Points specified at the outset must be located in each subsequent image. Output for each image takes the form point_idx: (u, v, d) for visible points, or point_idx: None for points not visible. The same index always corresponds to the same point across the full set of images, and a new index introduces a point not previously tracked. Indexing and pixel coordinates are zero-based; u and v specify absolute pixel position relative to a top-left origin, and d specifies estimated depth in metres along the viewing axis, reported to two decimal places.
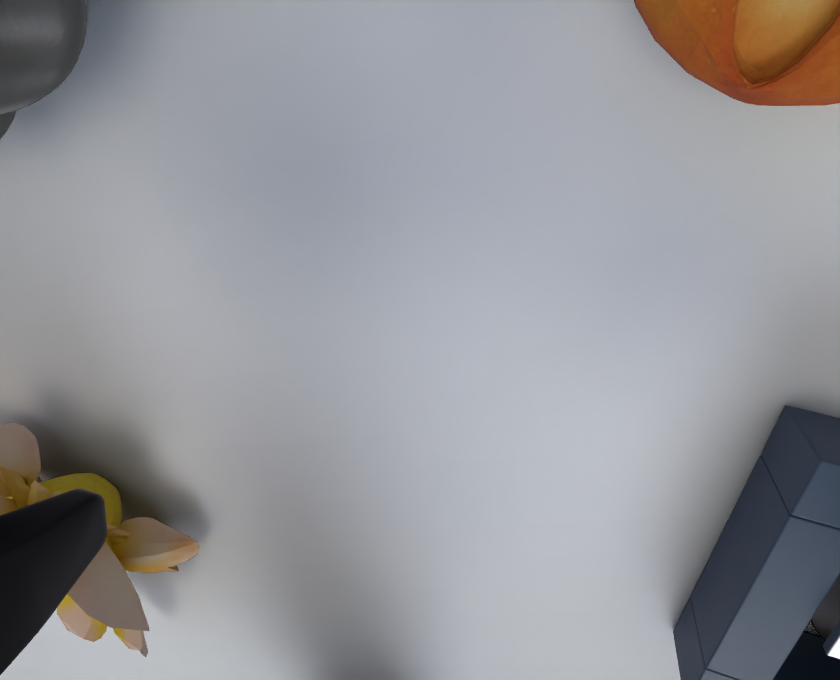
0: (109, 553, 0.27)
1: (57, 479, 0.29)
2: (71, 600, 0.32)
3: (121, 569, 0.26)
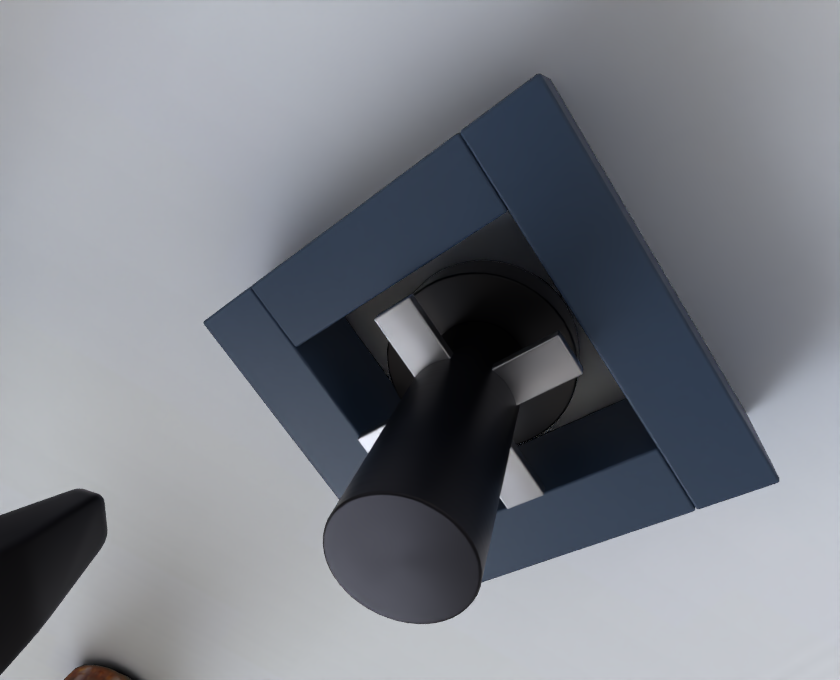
0: None
1: None
2: None
3: None
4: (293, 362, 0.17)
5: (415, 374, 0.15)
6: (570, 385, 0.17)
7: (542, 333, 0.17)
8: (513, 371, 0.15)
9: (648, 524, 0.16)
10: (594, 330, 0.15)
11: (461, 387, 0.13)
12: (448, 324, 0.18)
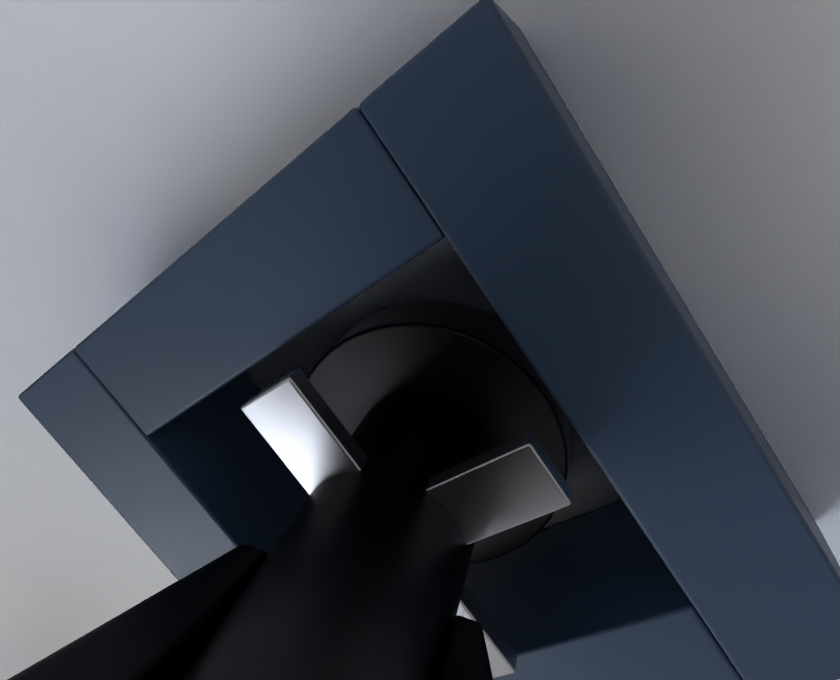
0: None
1: None
2: None
3: None
4: (146, 457, 0.12)
5: (309, 491, 0.10)
6: None
7: (513, 412, 0.11)
8: (459, 495, 0.09)
9: None
10: (590, 429, 0.09)
11: (361, 542, 0.08)
12: (377, 396, 0.12)
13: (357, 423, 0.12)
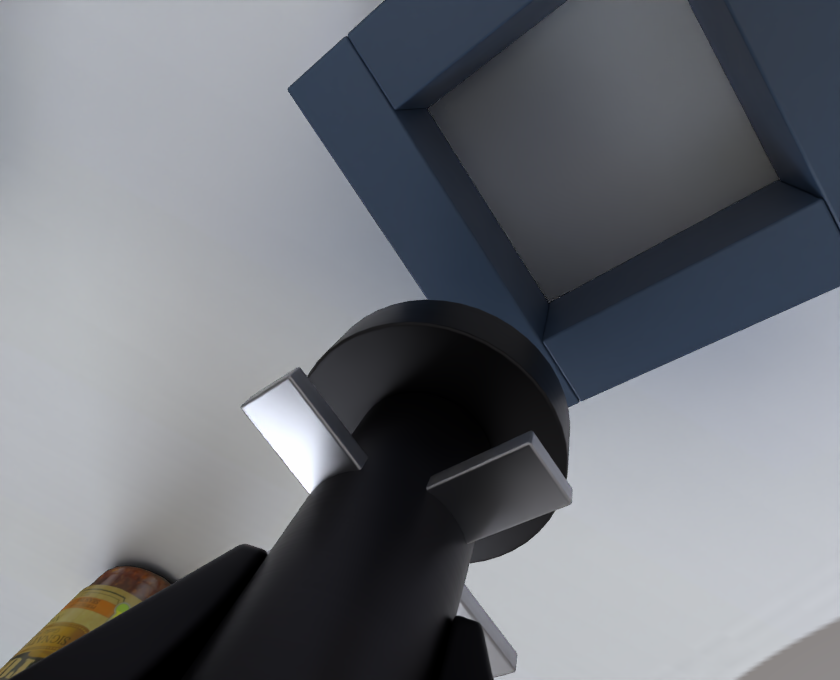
0: None
1: None
2: None
3: None
4: (390, 130, 0.15)
5: (309, 490, 0.10)
6: None
7: (514, 412, 0.11)
8: (459, 494, 0.09)
9: (802, 301, 0.14)
10: (761, 45, 0.13)
11: (361, 541, 0.08)
12: (377, 395, 0.12)
13: (357, 422, 0.12)
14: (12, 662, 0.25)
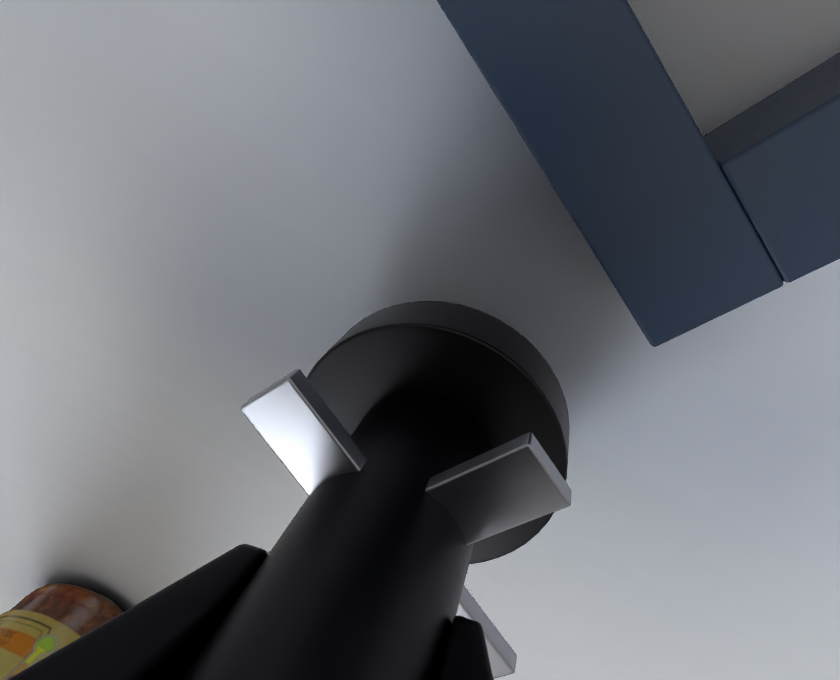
0: None
1: None
2: None
3: None
4: None
5: (309, 492, 0.10)
6: None
7: (513, 413, 0.11)
8: (459, 495, 0.09)
9: None
10: None
11: (360, 543, 0.08)
12: (377, 396, 0.12)
13: (357, 423, 0.12)
14: None
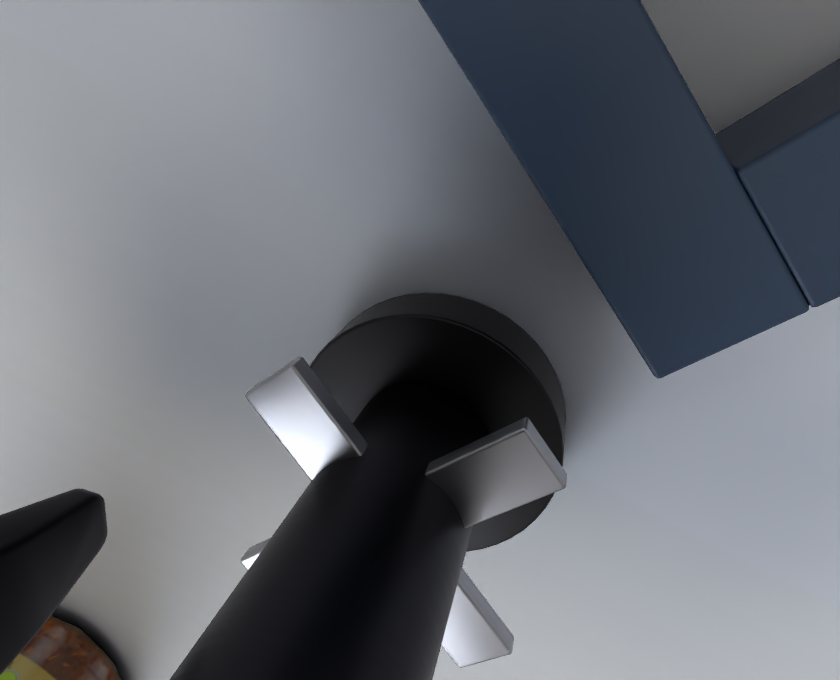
0: None
1: None
2: None
3: None
4: None
5: (311, 477, 0.10)
6: None
7: (510, 401, 0.12)
8: (457, 479, 0.09)
9: None
10: None
11: (362, 522, 0.08)
12: (377, 386, 0.12)
13: (358, 413, 0.13)
14: None
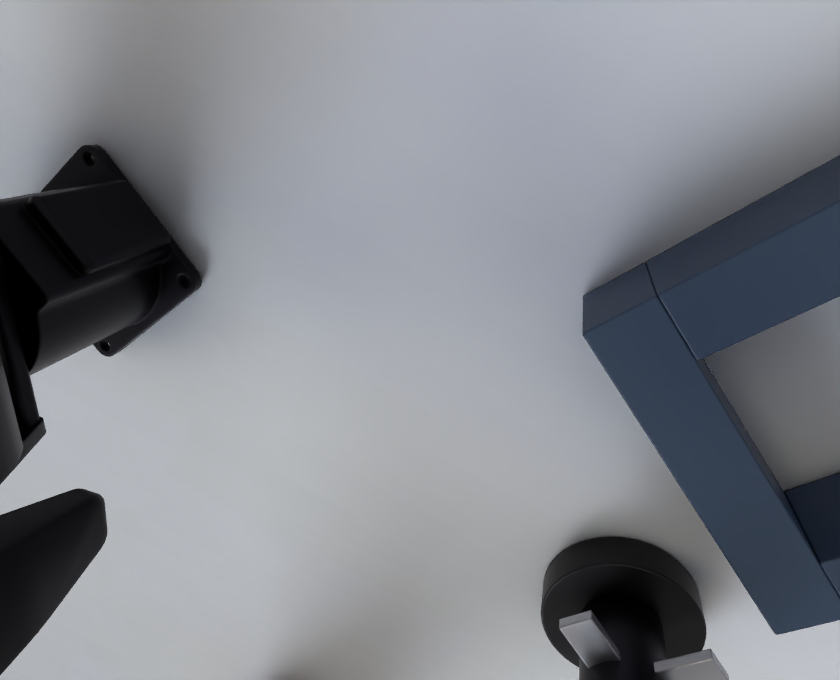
0: None
1: None
2: None
3: None
4: (689, 377, 0.16)
5: (589, 667, 0.20)
6: (698, 648, 0.22)
7: (678, 611, 0.21)
8: (672, 675, 0.19)
9: None
10: None
11: None
12: (597, 595, 0.22)
13: (582, 607, 0.22)
14: None
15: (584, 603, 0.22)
